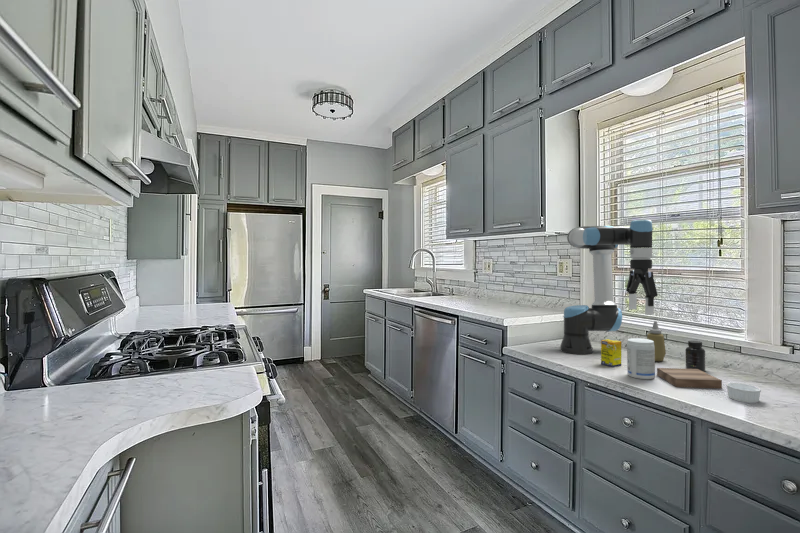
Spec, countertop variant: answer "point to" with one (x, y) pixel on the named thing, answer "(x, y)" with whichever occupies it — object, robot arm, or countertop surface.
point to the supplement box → (611, 352)
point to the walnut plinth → (689, 378)
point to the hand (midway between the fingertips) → (640, 312)
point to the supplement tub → (640, 358)
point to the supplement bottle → (695, 356)
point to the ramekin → (743, 392)
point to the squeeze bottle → (657, 342)
